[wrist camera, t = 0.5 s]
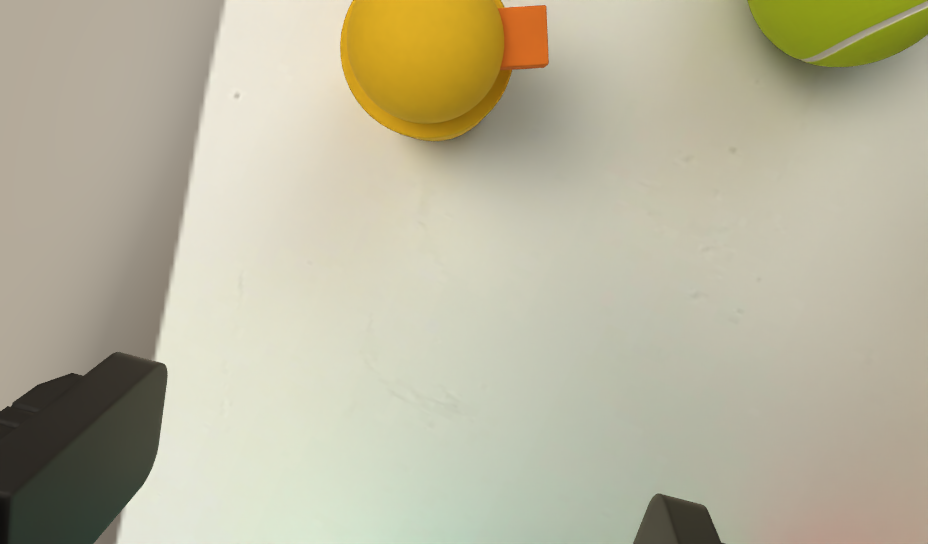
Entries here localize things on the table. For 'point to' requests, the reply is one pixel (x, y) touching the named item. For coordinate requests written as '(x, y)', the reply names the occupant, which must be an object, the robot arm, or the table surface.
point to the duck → (437, 60)
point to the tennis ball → (841, 28)
